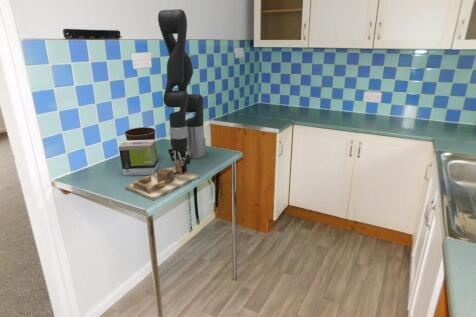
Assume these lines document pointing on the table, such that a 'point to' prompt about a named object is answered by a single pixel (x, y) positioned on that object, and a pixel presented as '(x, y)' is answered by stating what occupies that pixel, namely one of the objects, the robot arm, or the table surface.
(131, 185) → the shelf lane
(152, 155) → the tea box
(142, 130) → the plant pot
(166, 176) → the walnut block
